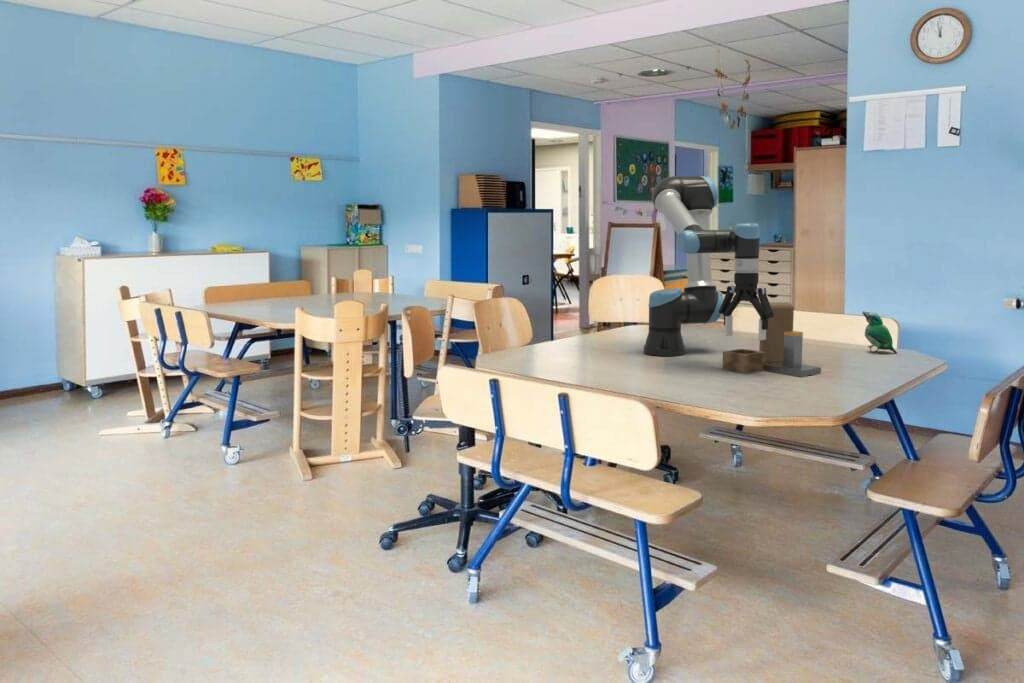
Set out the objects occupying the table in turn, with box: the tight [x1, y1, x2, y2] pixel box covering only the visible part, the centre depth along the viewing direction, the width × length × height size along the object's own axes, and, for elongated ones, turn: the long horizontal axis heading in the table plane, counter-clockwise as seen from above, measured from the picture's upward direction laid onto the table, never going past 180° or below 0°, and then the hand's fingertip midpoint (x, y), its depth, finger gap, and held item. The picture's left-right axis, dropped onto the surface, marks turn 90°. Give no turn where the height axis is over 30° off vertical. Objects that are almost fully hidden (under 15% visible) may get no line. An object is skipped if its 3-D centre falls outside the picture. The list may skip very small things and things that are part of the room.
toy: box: [861, 310, 898, 354], centre depth 305 cm, size 12×8×15 cm, turn 73°
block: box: [758, 301, 795, 364], centre depth 290 cm, size 10×10×20 cm
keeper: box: [763, 330, 822, 378], centre depth 271 cm, size 14×10×13 cm
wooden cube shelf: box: [722, 348, 766, 375], centre depth 276 cm, size 10×10×6 cm
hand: (745, 337), depth 274 cm, fingers open, 13 cm apart
